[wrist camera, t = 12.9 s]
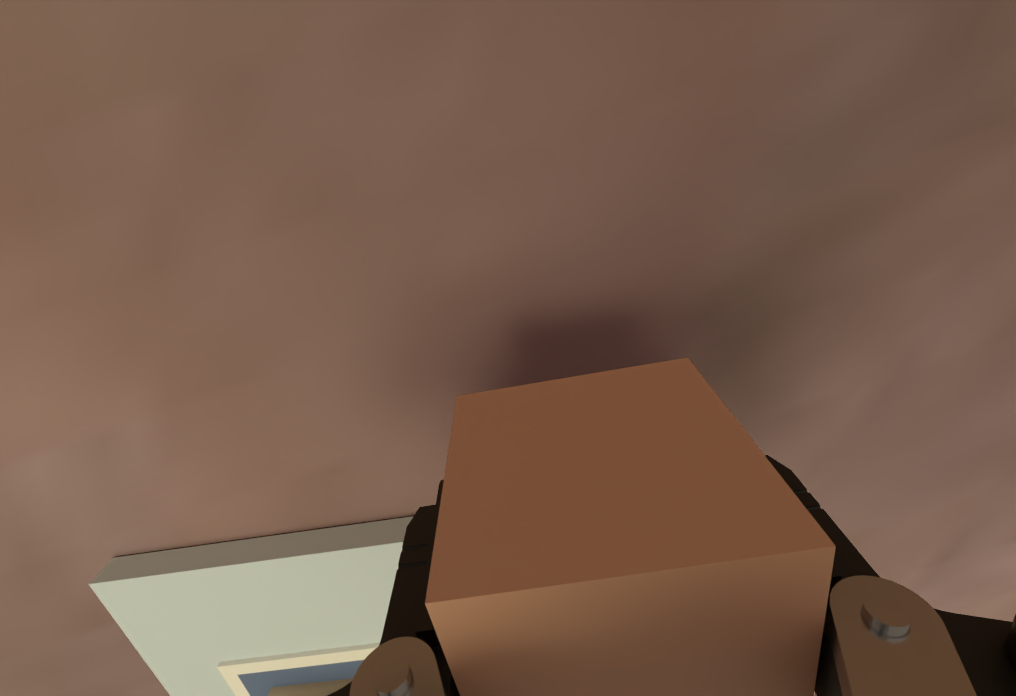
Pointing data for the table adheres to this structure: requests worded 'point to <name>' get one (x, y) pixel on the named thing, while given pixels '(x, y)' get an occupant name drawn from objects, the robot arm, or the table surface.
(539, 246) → the table surface
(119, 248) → the table surface
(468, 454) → the terracotta block
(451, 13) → the table surface
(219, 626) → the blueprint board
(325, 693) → the birch block
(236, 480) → the table surface
